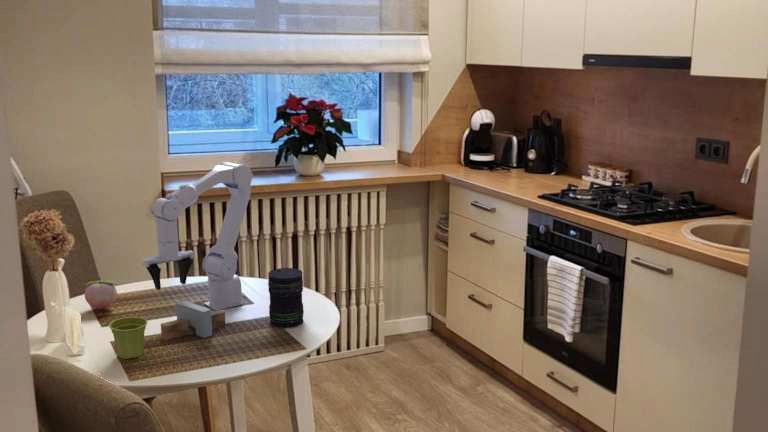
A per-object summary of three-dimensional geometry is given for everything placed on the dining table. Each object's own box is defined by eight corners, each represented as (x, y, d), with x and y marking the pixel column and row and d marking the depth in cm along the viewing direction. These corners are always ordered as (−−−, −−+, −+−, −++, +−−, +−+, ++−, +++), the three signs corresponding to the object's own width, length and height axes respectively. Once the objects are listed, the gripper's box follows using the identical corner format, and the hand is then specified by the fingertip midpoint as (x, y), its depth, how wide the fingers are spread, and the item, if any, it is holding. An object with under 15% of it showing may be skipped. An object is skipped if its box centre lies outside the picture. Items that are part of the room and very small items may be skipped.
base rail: (221, 322, 222) (220, 309, 221) (225, 325, 220) (224, 312, 219) (161, 337, 211) (160, 323, 210) (165, 340, 209) (164, 326, 208)
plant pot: (157, 350, 202) (154, 319, 200) (134, 364, 194) (132, 331, 192) (127, 345, 205) (124, 314, 203) (103, 359, 197) (101, 327, 195)
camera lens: (310, 322, 223) (310, 272, 219) (284, 331, 216) (283, 280, 212) (288, 314, 229) (287, 265, 226) (262, 322, 222) (260, 273, 219)
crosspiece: (212, 335, 213) (211, 309, 211) (204, 337, 211) (203, 312, 209) (185, 325, 220) (183, 300, 218) (177, 327, 218) (176, 302, 216)
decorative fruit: (118, 303, 238) (116, 272, 236) (118, 311, 230) (115, 280, 228) (86, 306, 235) (83, 275, 233) (84, 315, 227) (82, 283, 225)
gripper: (185, 233, 226) (187, 277, 229) (137, 241, 217) (140, 287, 220) (196, 238, 221) (198, 283, 224) (147, 246, 212) (150, 293, 215)
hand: (170, 286), depth 221 cm, fingers open, 7 cm apart
